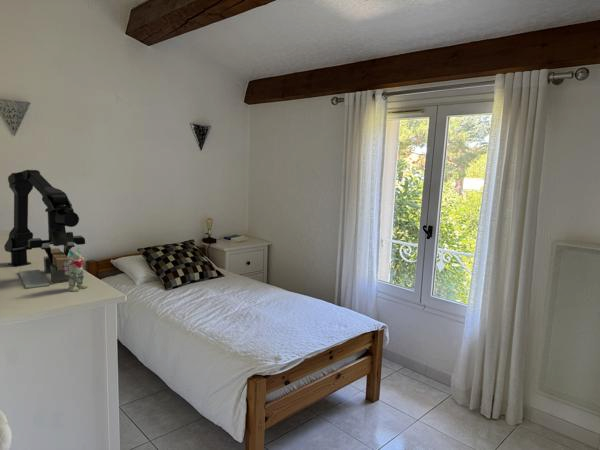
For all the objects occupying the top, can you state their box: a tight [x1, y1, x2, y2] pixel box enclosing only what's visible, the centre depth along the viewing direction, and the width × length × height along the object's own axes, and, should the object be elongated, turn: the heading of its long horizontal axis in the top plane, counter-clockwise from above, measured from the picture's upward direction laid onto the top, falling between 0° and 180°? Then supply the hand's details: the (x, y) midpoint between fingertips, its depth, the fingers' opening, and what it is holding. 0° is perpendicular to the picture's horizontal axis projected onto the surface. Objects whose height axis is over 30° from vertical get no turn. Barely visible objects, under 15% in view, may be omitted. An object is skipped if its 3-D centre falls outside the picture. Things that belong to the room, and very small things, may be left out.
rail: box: [49, 247, 69, 270], centre depth 159 cm, size 22×4×4 cm, turn 40°
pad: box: [18, 268, 50, 290], centre depth 155 cm, size 25×7×1 cm, turn 40°
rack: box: [43, 256, 70, 284], centre depth 160 cm, size 20×7×6 cm, turn 40°
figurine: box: [62, 247, 89, 293], centre depth 145 cm, size 8×8×15 cm
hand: (58, 262), depth 160 cm, fingers closed on rail, 4 cm apart
